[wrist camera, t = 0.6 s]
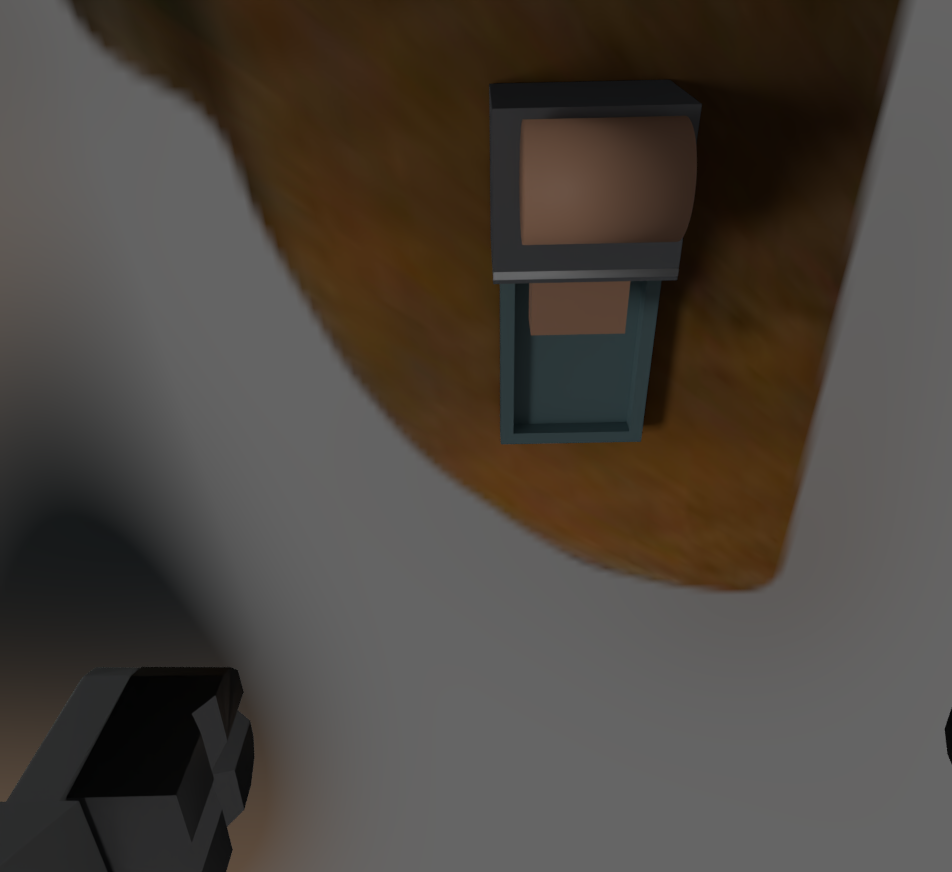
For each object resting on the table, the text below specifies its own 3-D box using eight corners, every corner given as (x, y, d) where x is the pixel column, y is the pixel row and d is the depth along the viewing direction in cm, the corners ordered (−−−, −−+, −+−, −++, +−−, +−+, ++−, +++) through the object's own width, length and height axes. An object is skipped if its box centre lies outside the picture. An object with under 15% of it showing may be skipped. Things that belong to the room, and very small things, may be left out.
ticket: (532, 149, 36) (535, 160, 34) (635, 147, 36) (643, 158, 34) (528, 319, 41) (531, 335, 39) (618, 317, 41) (625, 333, 39)
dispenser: (489, 83, 37) (495, 135, 28) (669, 79, 37) (736, 129, 28) (490, 240, 41) (496, 330, 32) (651, 236, 41) (703, 326, 32)
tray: (499, 256, 42) (500, 266, 41) (658, 253, 42) (663, 263, 41) (500, 431, 49) (500, 444, 48) (636, 428, 49) (640, 441, 47)
